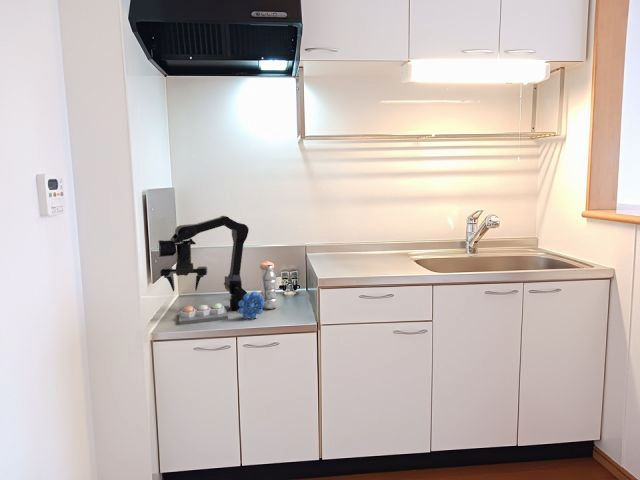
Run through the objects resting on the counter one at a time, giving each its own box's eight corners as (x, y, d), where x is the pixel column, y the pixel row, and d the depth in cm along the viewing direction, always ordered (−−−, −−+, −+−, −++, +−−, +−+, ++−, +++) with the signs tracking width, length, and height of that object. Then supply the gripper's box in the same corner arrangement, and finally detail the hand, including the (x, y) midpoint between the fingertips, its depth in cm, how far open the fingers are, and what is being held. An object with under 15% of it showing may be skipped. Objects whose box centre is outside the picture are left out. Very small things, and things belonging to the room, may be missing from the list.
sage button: (221, 308, 193) (221, 302, 192) (222, 310, 189) (221, 305, 188) (212, 309, 191) (211, 303, 191) (212, 311, 188) (212, 306, 187)
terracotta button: (193, 311, 189) (193, 305, 189) (193, 313, 185) (193, 308, 185) (183, 312, 188) (183, 306, 188) (183, 314, 184) (183, 309, 184)
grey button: (207, 309, 191) (207, 304, 190) (207, 312, 187) (207, 306, 187) (198, 310, 190) (197, 305, 189) (198, 313, 186) (198, 307, 186)
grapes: (265, 314, 190) (264, 288, 188) (266, 319, 184) (265, 292, 182) (238, 316, 188) (237, 289, 187) (238, 321, 182) (236, 293, 180)
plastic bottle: (265, 311, 195) (264, 267, 192) (261, 307, 201) (259, 265, 198) (279, 309, 198) (277, 266, 195) (274, 305, 204) (273, 263, 201)
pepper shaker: (261, 296, 218) (259, 259, 215) (275, 296, 219) (274, 259, 216) (260, 301, 211) (259, 262, 208) (275, 300, 212) (274, 261, 209)
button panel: (225, 309, 198) (224, 302, 198) (228, 319, 185) (227, 311, 185) (179, 314, 192) (178, 307, 192) (179, 324, 179) (178, 316, 179)
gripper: (157, 258, 175) (158, 296, 177) (204, 257, 178) (205, 294, 180) (162, 254, 186) (163, 289, 188) (207, 253, 189) (207, 288, 191)
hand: (184, 290), depth 186 cm, fingers open, 9 cm apart
